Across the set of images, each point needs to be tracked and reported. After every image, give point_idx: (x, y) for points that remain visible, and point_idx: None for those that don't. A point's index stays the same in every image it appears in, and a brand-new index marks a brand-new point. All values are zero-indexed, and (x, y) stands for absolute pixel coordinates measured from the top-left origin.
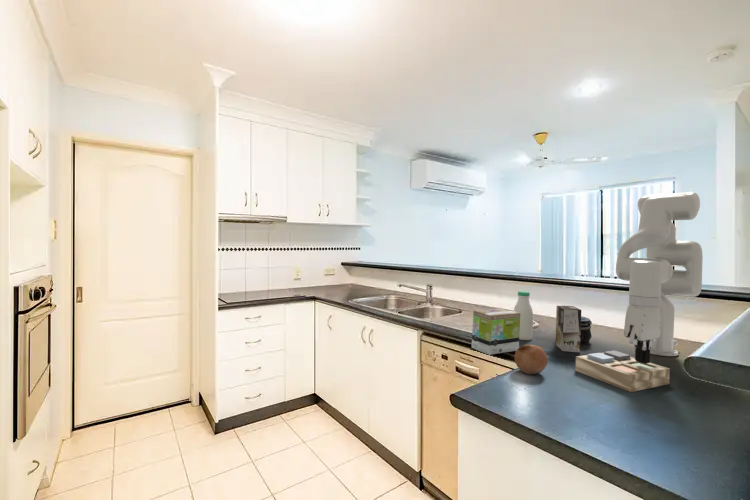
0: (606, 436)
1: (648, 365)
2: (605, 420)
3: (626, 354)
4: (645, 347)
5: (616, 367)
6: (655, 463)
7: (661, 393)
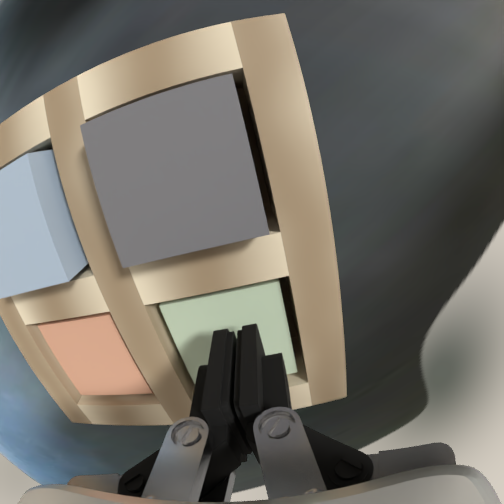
0: (3, 439)
1: (299, 333)
2: (5, 423)
3: (245, 214)
4: (226, 480)
5: (62, 332)
6: (39, 474)
7: None
